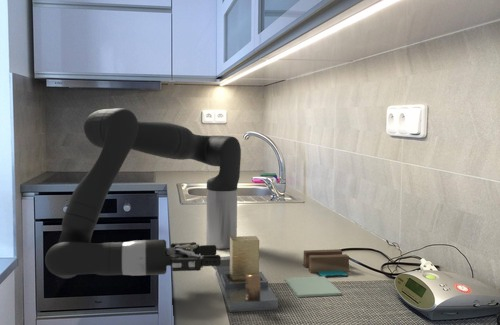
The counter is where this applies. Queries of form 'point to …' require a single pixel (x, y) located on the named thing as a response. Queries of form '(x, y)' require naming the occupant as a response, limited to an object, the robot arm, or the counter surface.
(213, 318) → the counter surface
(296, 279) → the pad
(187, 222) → the counter surface
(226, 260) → the smartphone
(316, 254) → the phone stand
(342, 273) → the smartphone
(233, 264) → the brushed brass block
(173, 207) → the counter surface
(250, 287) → the grey slotted base
